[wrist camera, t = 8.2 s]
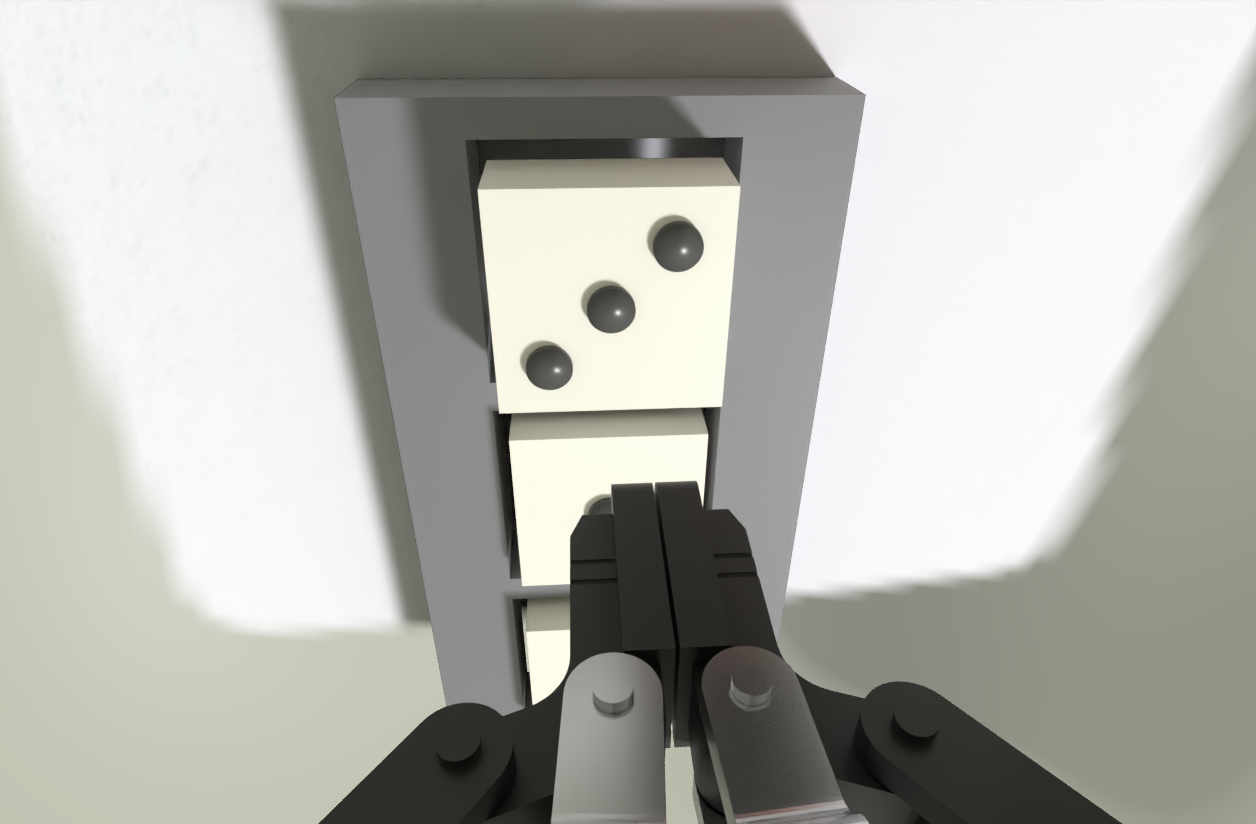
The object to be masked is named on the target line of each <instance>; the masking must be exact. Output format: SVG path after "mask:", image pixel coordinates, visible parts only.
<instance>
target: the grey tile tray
mask: <svg viewBox="0 0 1256 824" xmlns="http://www.w3.org/2000/svg"><path fill="white" fill-rule="evenodd" d="M865 96H866V95H865V94H864V93H862V92H860V91H859V90H857V89H855V88H854V87H852V86H850V85H849V84H847V83H845V82H844V81H842V80H840V79H839V78H837V77H747V78H540V79H357V80H356V81H355V82H353V83H352V84H351V85H350V86H348V87H347V88H346V89H345V90H343V91H342V92H341V93H340V94H338V95H337V96H336V97H335V98H334V101H335V106H336V112H337V117H338V122H339V128H340V133H341V139H342V144H343V149H344V155H345V160H346V166H347V171H348V176H349V182H350V187H351V193H352V198H353V203H354V209H355V214H356V220H357V225H358V231H359V236H360V241H361V247H362V252H363V258H364V263H365V268H366V274H367V279H368V285H369V290H370V295H371V301H372V306H373V312H374V317H375V322H376V328H377V333H378V339H379V344H380V349H381V355H382V360H383V366H384V371H385V376H386V382H387V387H388V393H389V398H390V403H391V409H392V414H393V420H394V425H395V431H396V436H397V441H398V447H399V452H400V458H401V463H402V468H403V474H404V479H405V485H406V490H407V495H408V501H409V506H410V512H411V517H412V522H413V528H414V533H415V539H416V544H417V549H418V555H419V560H420V566H421V571H422V576H423V582H424V587H425V593H426V598H427V604H428V609H429V614H430V620H431V625H432V631H433V636H434V641H435V647H436V652H437V657H438V663H439V668H440V674H441V679H442V684H443V690H444V695H445V701H446V706H450V705H453V704H458V703H479V704H483V705H486V706H489V707H491V708H492V709H494V710H496V711H497V712H498V713H500V714H501V715H502V716H505V715H507V714H510V713H513V712H516V711H518V710H521V709H524V708H527V707H529V706H531V705H533V704H532V693H531V682H530V672H527V665H526V654H525V643H524V633H523V622H522V612H521V601H520V599H529V598H551V597H570V584H561V585H539V586H522V578H521V567H520V556H519V546H518V535H517V532H514V527H513V516H512V506H511V495H510V485H509V474H508V463H507V453H506V442H505V432H504V421H503V413H501V414H499V405H498V395H497V384H496V374H495V364H494V354H493V343H492V333H491V323H490V313H489V302H488V292H487V282H486V271H485V261H484V251H483V241H482V230H481V220H480V210H479V200H478V187H479V183H480V180H481V178H480V167H479V157H478V146H477V140H506V139H611V138H716V137H725V141H724V155H723V159H724V161H725V163H726V164H727V166H728V167H729V169H730V170H731V172H732V173H733V175H734V177H735V178H736V180H737V181H738V183H739V184H740V186H741V187H740V199H739V211H738V223H737V235H736V247H735V259H734V270H733V282H732V294H731V306H730V318H729V330H728V341H727V353H726V365H725V377H724V389H723V401H722V407H706V408H705V424H706V427H707V431H708V447H707V460H706V473H705V486H704V500H703V510H713V509H729V510H730V511H731V513H732V514H733V515H734V516H735V517H736V518H737V520H738V521H739V522H740V523H741V524H742V525H743V526H744V528H745V529H746V532H747V535H748V539H749V543H750V546H751V550H752V557H754V561H755V565H756V568H757V575H758V576H759V579H760V583H761V587H762V590H763V594H764V598H765V601H766V605H767V609H768V613H769V616H770V620H771V624H772V627H773V631H774V635H775V638H776V642H777V643H778V637H779V631H780V625H781V619H782V612H783V606H784V600H785V594H786V588H787V582H788V575H789V569H790V563H791V557H792V550H793V544H794V538H795V532H796V525H797V519H798V513H799V507H800V501H801V494H802V488H803V482H804V476H805V469H806V463H807V457H808V451H809V445H810V438H811V432H812V426H813V420H814V413H815V407H816V401H817V395H818V389H819V382H820V376H821V370H822V364H823V357H824V351H825V345H826V339H827V333H828V326H829V320H830V314H831V308H832V301H833V295H834V289H835V283H836V277H837V270H838V264H839V258H840V252H841V245H842V239H843V233H844V227H845V221H846V214H847V208H848V202H849V196H850V189H851V183H852V177H853V171H854V165H855V158H856V152H857V146H858V140H859V133H860V127H861V121H862V115H863V108H864V102H865Z"/></svg>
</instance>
